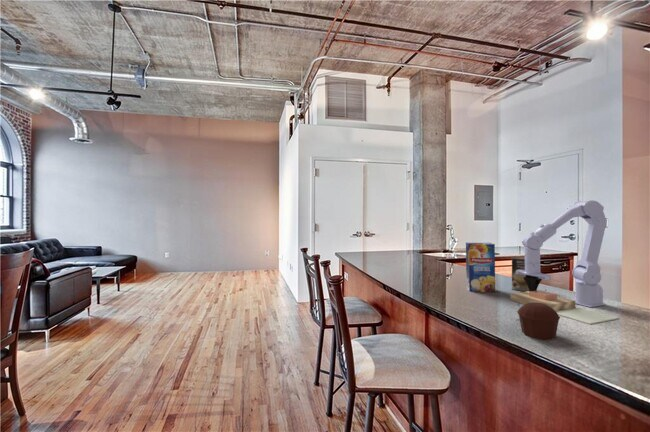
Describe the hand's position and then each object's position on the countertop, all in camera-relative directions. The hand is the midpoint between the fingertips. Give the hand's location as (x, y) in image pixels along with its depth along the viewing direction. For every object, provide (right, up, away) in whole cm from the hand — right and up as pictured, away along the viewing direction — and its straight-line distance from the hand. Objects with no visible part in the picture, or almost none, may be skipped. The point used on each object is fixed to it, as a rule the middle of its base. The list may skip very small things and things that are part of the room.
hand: (532, 293), depth 135 cm
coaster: (+1, -1, -4) cm, 5 cm away
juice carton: (-12, -4, +21) cm, 25 cm away
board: (+1, -4, -4) cm, 5 cm away
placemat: (+6, -4, -19) cm, 21 cm away
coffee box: (+9, -4, +21) cm, 23 cm away
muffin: (-23, -5, -36) cm, 43 cm away
